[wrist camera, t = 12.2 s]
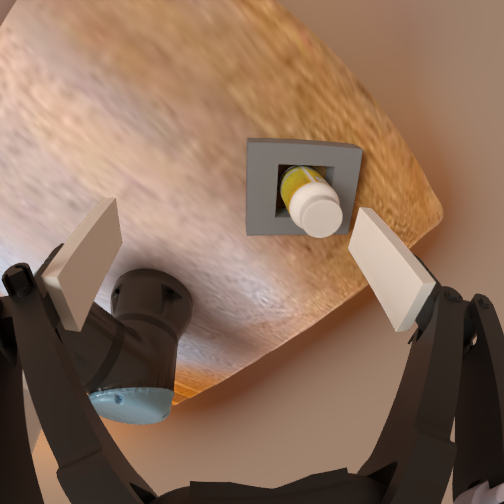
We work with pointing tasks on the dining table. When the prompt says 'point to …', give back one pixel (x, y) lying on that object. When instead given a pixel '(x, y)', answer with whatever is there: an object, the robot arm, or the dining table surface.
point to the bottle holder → (296, 153)
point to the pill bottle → (310, 201)
